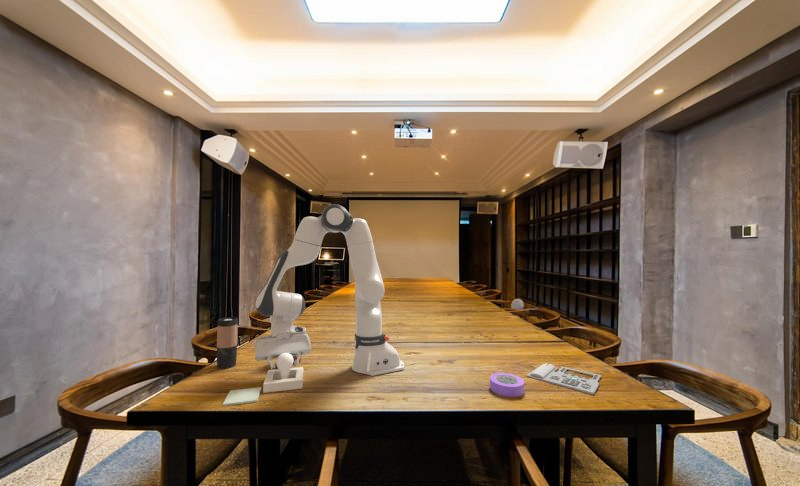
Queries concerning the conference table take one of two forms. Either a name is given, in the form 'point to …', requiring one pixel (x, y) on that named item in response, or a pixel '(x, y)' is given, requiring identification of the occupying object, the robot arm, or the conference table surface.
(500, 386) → the masking tape
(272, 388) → the block
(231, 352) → the travel mug
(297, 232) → the robot arm
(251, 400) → the pad
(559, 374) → the office telephone
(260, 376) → the conference table surface
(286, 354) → the lightbulb
